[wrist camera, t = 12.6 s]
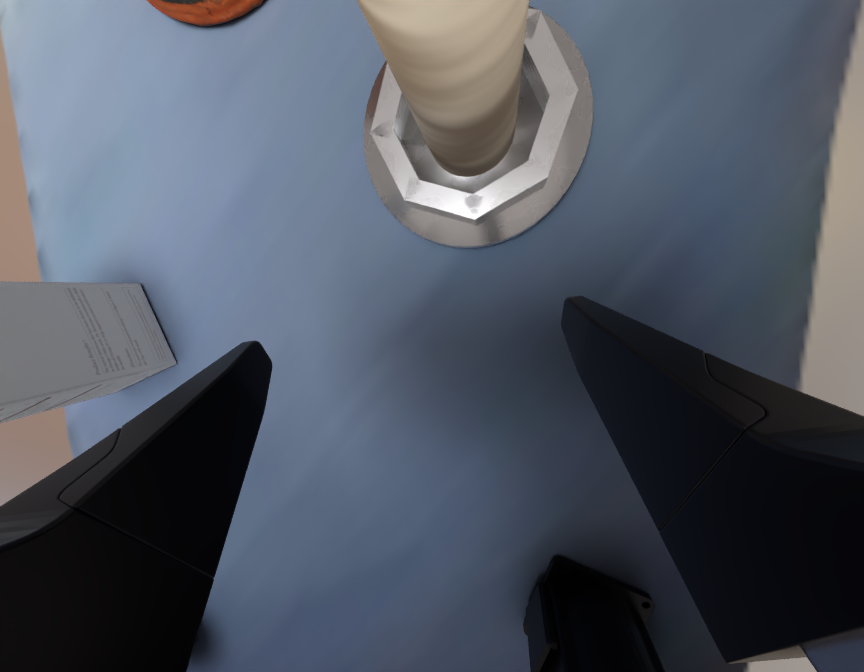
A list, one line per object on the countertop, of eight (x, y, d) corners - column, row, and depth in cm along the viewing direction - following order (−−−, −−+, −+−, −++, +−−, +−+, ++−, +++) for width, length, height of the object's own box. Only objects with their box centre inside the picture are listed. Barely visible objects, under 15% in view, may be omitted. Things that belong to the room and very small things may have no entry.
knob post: (534, 117, 18) (616, -268, 5) (474, 194, 19) (431, 19, 7) (465, 63, 18) (398, -419, 6) (410, 142, 19) (257, -119, 7)
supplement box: (83, 314, 27) (-252, 333, 15) (143, 281, 26) (-181, 273, 13) (119, 393, 28) (-179, 474, 16) (180, 366, 26) (-101, 433, 14)
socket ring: (626, 36, 17) (650, -12, 14) (539, 274, 20) (545, 271, 17) (401, -4, 19) (385, -53, 16) (348, 217, 21) (327, 206, 19)
